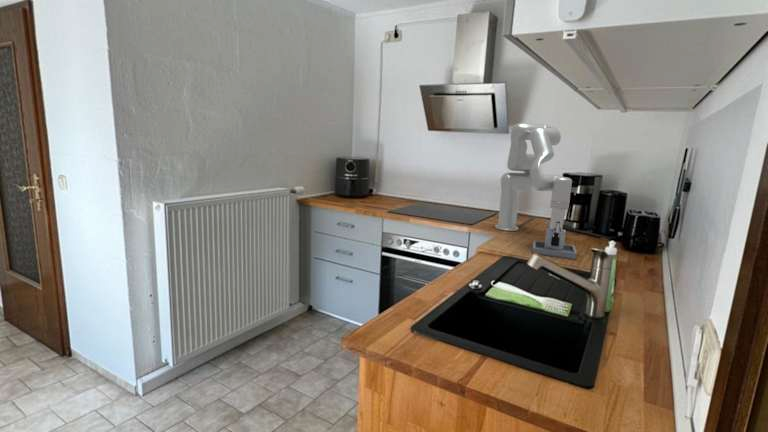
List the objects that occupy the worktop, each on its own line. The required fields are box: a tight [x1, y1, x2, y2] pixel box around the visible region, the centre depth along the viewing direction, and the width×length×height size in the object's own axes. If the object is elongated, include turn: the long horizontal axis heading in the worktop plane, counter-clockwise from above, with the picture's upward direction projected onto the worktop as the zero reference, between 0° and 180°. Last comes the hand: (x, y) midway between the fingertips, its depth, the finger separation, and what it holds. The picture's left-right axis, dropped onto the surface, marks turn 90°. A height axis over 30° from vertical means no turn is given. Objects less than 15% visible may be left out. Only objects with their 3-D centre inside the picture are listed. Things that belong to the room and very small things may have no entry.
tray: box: [532, 240, 578, 260], centre depth 187 cm, size 14×18×3 cm
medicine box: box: [544, 227, 567, 250], centre depth 186 cm, size 8×4×9 cm, turn 65°
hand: (554, 243), depth 187 cm, fingers closed on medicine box, 4 cm apart
